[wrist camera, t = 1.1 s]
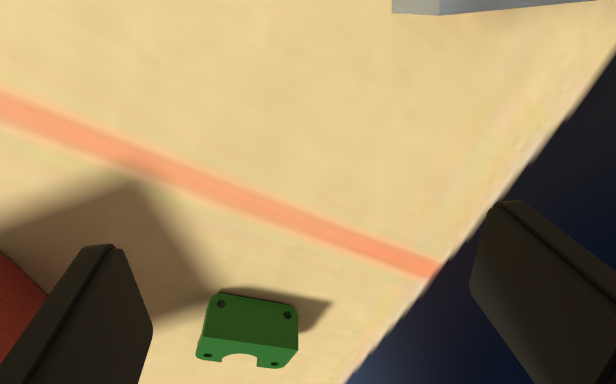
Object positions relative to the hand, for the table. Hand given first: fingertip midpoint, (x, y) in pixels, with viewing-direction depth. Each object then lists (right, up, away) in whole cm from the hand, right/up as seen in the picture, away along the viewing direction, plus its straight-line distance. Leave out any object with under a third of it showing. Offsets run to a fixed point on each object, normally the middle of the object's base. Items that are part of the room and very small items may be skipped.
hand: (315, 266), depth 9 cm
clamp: (-8, -14, +36) cm, 40 cm away
